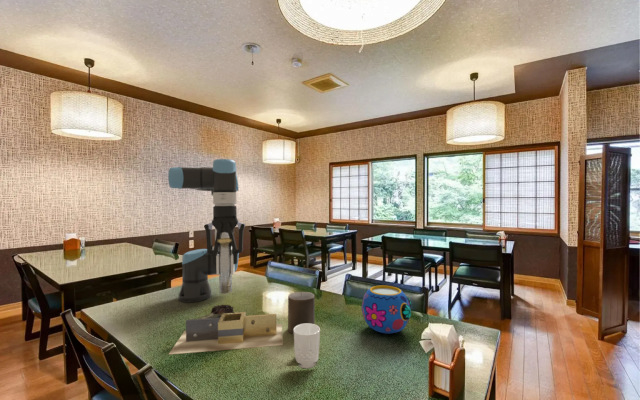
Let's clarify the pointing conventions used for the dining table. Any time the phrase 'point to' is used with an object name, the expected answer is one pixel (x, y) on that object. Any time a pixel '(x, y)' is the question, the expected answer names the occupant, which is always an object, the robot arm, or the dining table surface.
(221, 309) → the branch with fungus
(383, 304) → the ceramic pot
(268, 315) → the hinge
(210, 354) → the dining table surface
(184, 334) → the mounting board
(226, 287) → the hinge pin
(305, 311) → the pillar candle
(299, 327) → the white cup
